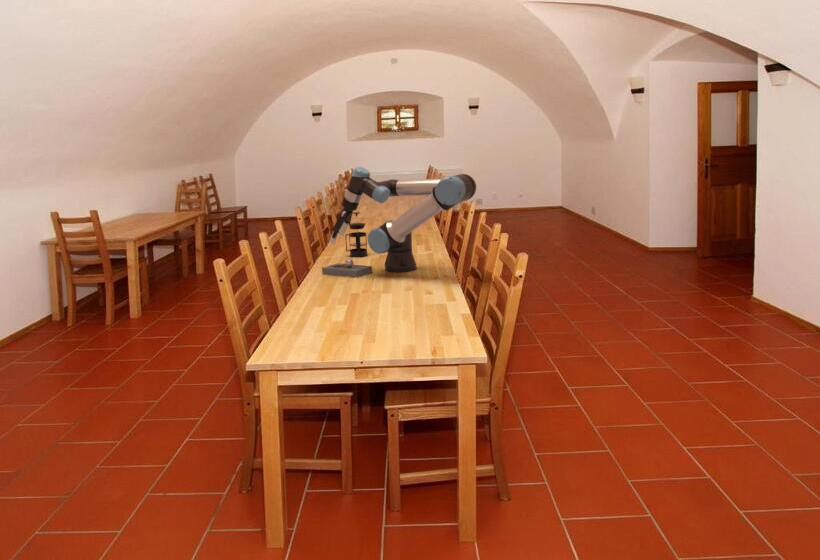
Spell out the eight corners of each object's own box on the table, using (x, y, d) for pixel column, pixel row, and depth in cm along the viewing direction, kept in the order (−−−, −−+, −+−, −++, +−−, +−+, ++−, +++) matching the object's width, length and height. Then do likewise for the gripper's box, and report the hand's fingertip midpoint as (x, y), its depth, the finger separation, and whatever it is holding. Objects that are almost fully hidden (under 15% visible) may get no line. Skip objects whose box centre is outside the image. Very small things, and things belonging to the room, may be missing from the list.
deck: (372, 272, 341) (371, 266, 341) (356, 277, 331) (356, 271, 331) (338, 269, 352) (337, 263, 351) (322, 274, 342) (321, 267, 341)
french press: (368, 253, 390) (366, 210, 385) (369, 256, 381) (367, 212, 376) (346, 255, 388) (343, 212, 383) (347, 258, 379) (344, 214, 374)
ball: (355, 266, 341) (354, 258, 340) (350, 268, 338) (349, 259, 337) (348, 266, 343) (348, 257, 342) (343, 267, 340) (342, 259, 339)
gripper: (352, 189, 348) (337, 228, 356) (335, 202, 325) (320, 243, 334) (366, 196, 347) (351, 234, 356) (350, 209, 324) (334, 250, 333)
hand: (336, 239), depth 345 cm, fingers open, 13 cm apart
